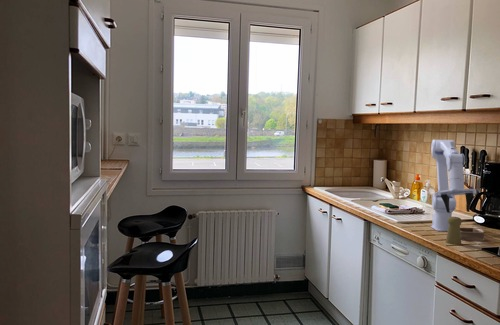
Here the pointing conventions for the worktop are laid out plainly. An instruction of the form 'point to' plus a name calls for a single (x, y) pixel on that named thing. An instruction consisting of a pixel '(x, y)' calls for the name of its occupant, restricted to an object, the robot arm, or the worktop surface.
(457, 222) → the cork
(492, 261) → the worktop surface
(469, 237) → the holder
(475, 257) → the worktop surface
